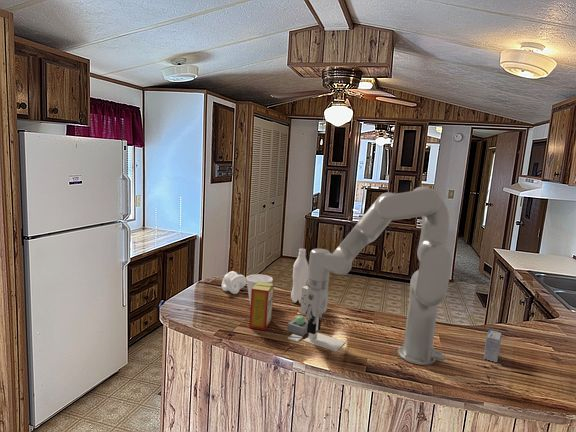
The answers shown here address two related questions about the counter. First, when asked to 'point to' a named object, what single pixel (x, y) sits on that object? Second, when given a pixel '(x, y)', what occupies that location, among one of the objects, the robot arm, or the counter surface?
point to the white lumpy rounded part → (233, 282)
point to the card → (295, 337)
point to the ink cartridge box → (303, 299)
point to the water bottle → (299, 275)
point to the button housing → (297, 328)
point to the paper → (326, 342)
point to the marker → (314, 336)
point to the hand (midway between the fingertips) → (313, 330)
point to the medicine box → (492, 346)
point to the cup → (254, 279)
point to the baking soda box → (261, 305)
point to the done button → (300, 320)
